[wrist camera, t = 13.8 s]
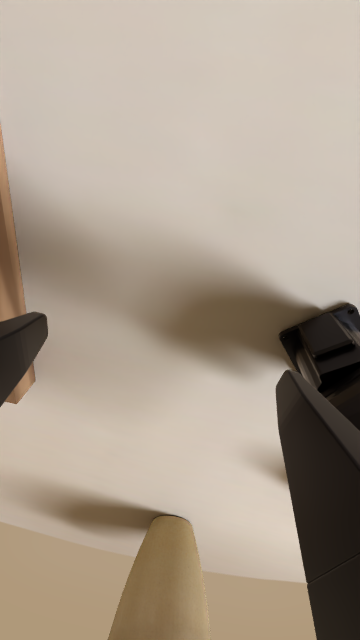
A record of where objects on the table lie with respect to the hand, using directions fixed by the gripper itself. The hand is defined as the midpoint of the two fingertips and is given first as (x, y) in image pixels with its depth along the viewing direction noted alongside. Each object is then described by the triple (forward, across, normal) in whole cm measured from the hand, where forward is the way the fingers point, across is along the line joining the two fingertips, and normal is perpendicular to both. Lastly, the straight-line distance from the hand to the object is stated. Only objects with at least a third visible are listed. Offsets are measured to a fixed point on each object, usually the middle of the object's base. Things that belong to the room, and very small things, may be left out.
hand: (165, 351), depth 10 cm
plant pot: (+13, -8, +51) cm, 53 cm away
